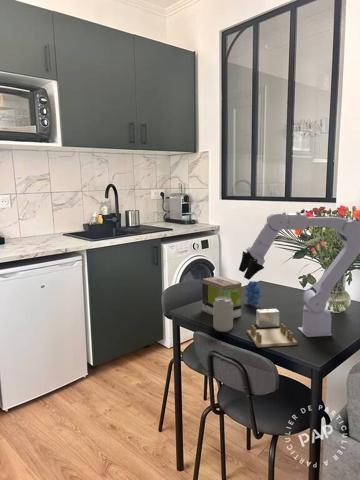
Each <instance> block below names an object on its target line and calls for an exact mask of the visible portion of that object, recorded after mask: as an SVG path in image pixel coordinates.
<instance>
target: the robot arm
mask: <svg viewBox="0 0 360 480" xmlns="http://www.w3.org/2000/svg"><path fill="white" fill-rule="evenodd" d="M307 227H313V228H315V227H317V228H318V227H319V228H320V227H321V228H331V229H333V230H335V231H336V232H337V234H338V235H339V236H340V238H341V242H342V245H343V248H342V249H341V250H340V251H339V253H338V254H337V255H336V257H335V259H334V260H332V262H331V264H330V265H329V267H327V269H326V270H325V271H324V273H323V274H322V276H321V277H320V278H319V279H318V281H317V282H314V283H313V284H312V285H311V286H310V287H309V288H307V289H305V290H304V291H303V292H302V297H301V298H302V300H303V302H304V305H303V310H302V326H298V327H297V329H298V330H299V331H300V332H301V333H302V334H303V335H304V336H305V337H307V338H311V337H312V338H314V337H329V336H332V335H333V334H332V313H331V311H330V310H329V309H328V308H326V307H327V304H328V301H329V300H330V297H331V291H332V290H333V288H334V287H335V286H336V284H337V283H338V282H339V281H340V280H341V278H342V277H343V275H344V274H345V273H346V271H347V270H348V269H349V268H350V266H351V265H352V264H353V262H354V261H355V259H357V256H359V254H360V221H357V220H352V219H350V218H348V217H345V218H344V217H340V216H339V217H338V216H315V217H314V216H309V217H308V216H307V215H306V214H304V213H301V212H300V211H296V213H287V212H286V211H285V212H284V211H283V212H282V213H279V212H273V213H271V214H269V216H267V217H266V223H265V224H264V226H263V228H261V230H260V231H259V233H258V235H257V237H256V239H255V240H254V242H253V244H252V245H251V247H250V246H248V247H247V248H246V249H245V250H246V251H244V250H243V251H242V255H241V256H242V257H241V262H240V265H239V268H238V271H240V272H242V273H244V275H243V278H244V279H246V280H248V281H250V280H251V279H252V278H253V277H254V276H255V275H256V274H258V272H260V271H262V270H264V269H265V266H264V264H265V262H266V261H265V258H264V257H265V256H266V254H267V253H268V251H269V250H270V248H271V246H272V245H273V243H274V242H275V240H276V238H277V237H278V234H279V233H280V231H282V230H286V231H287V230H289V231H291V230H293V231H294V230H297V231H299V230H300V231H304V229H306V228H307Z"/></svg>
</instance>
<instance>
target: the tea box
mask: <svg viewBox="0 0 360 480" xmlns="http://www.w3.org/2000/svg"><path fill="white" fill-rule="evenodd" d="M217 297H228V298H231V301H232V302H233V319H236V318H240V317H241V316H242V282H240V281H237V280H233V279H231V278H228V277H224V276H222V275H218V276H211V277H206V278H202V311H203V312H205V313H207V314H209V315H211V316H213V302H214V301H215V298H217Z"/></svg>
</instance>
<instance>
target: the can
mask: <svg viewBox="0 0 360 480" xmlns="http://www.w3.org/2000/svg"><path fill="white" fill-rule="evenodd" d="M212 316H213V318H212V319H213V321H212V323H213V324H212V325H213V326H212V327H213V328H214V330H215V331H216V332H220V333H227V332H230V331H231V330H233V327H234V318H233V302H232V301H231V298H228V297H217V298H215V301H214V302H213V315H212Z"/></svg>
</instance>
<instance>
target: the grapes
mask: <svg viewBox="0 0 360 480" xmlns="http://www.w3.org/2000/svg"><path fill="white" fill-rule="evenodd" d="M245 290H246V293H245V295H244V296H245V298H247V300H246V302H247V303H248V305H250V306H251V307H255V306H256V305H259V303H260V298H261V297H262V291H261V287H260V286H259V285H258V282H257V281H255V280H253V281H252V280H251V281H250V280H249V282H248V283H247V285H246V287H245Z"/></svg>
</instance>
